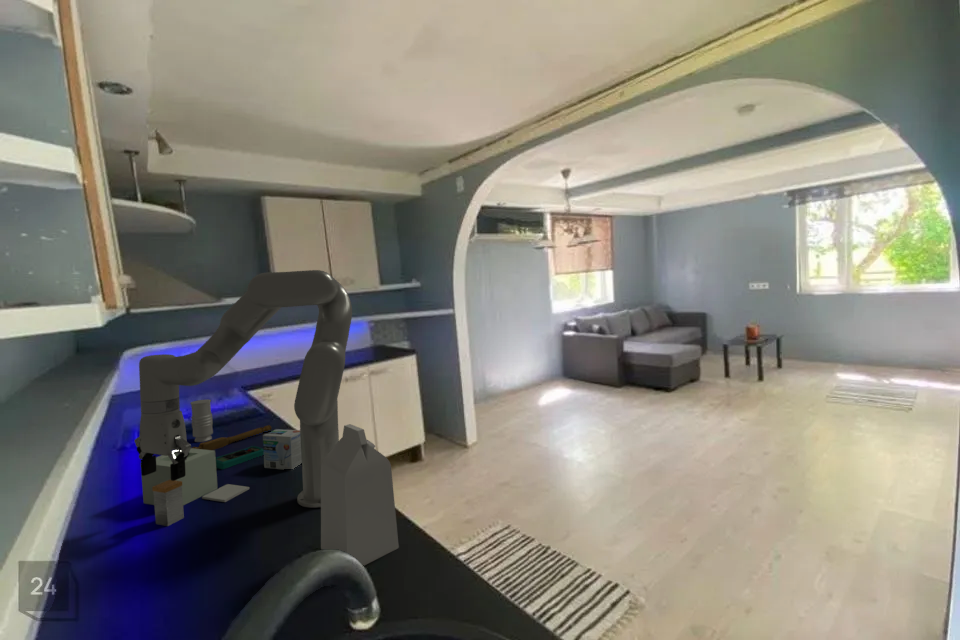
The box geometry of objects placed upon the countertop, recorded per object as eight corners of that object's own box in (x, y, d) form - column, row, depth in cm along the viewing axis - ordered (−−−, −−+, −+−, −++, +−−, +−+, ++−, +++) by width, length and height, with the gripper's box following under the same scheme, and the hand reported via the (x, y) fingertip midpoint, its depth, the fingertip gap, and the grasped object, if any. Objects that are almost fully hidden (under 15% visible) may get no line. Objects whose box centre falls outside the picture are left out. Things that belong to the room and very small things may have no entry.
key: (184, 517, 107) (182, 481, 106) (167, 526, 103) (164, 488, 102) (172, 515, 108) (169, 479, 107) (155, 524, 104) (152, 486, 103)
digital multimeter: (266, 456, 149) (266, 447, 149) (221, 471, 136) (221, 462, 136) (255, 452, 153) (254, 444, 153) (210, 467, 140) (209, 458, 140)
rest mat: (249, 489, 122) (249, 486, 122) (224, 502, 114) (224, 499, 114) (227, 486, 124) (227, 484, 124) (202, 498, 117) (202, 496, 117)
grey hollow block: (217, 488, 123) (215, 450, 122) (176, 508, 111) (173, 467, 111) (186, 484, 126) (183, 447, 126) (143, 503, 115) (140, 462, 114)
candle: (217, 438, 169) (214, 400, 168) (198, 443, 163) (195, 404, 162) (208, 435, 173) (205, 398, 172) (189, 440, 167) (186, 402, 166)
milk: (320, 548, 91) (314, 428, 90) (369, 527, 99) (364, 416, 98) (348, 573, 83) (341, 440, 81) (398, 547, 91) (393, 426, 89)
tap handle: (272, 425, 175) (192, 448, 150) (272, 432, 175) (192, 457, 150) (267, 424, 177) (187, 447, 151) (267, 431, 177) (188, 455, 151)
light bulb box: (263, 468, 137) (261, 435, 136) (278, 460, 143) (276, 428, 143) (292, 470, 134) (290, 436, 134) (306, 462, 141) (304, 429, 140)
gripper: (202, 405, 104) (204, 474, 105) (151, 400, 110) (153, 466, 111) (171, 412, 97) (174, 487, 98) (118, 407, 103) (121, 477, 103)
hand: (163, 476), depth 104 cm, fingers open, 9 cm apart
